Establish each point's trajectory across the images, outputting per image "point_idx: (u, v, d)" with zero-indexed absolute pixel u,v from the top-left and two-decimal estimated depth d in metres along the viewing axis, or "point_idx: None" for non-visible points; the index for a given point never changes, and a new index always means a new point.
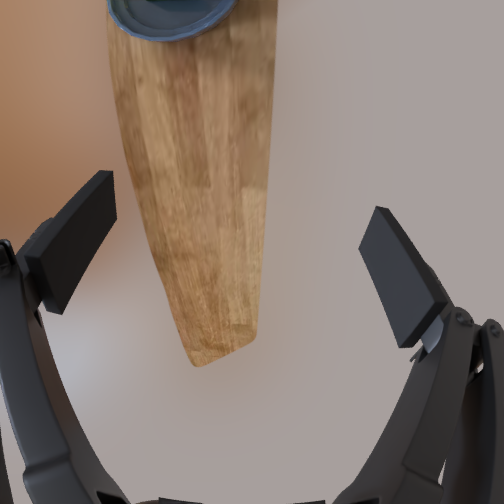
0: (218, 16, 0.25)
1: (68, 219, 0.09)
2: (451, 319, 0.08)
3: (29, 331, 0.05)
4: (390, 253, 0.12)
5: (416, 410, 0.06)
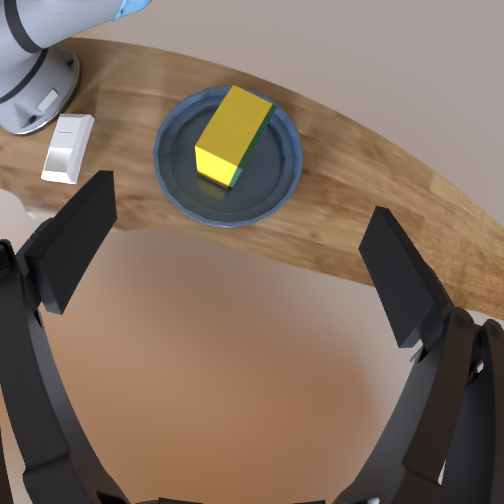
0: (292, 125, 0.32)
1: (68, 219, 0.09)
2: (451, 319, 0.08)
3: (29, 331, 0.05)
4: (390, 253, 0.12)
5: (416, 410, 0.06)
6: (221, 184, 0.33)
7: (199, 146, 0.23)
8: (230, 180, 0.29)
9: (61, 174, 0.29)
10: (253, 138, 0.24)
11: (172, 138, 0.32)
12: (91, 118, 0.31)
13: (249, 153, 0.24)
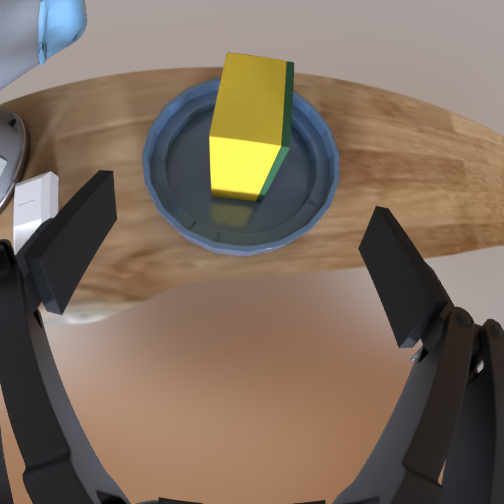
0: (303, 100, 0.25)
1: (68, 219, 0.09)
2: (451, 319, 0.08)
3: (29, 331, 0.05)
4: (390, 252, 0.12)
5: (416, 409, 0.06)
6: (247, 197, 0.25)
7: (215, 135, 0.15)
8: (264, 182, 0.21)
9: None
10: (284, 105, 0.16)
11: (163, 162, 0.24)
12: (54, 176, 0.24)
13: (289, 124, 0.16)
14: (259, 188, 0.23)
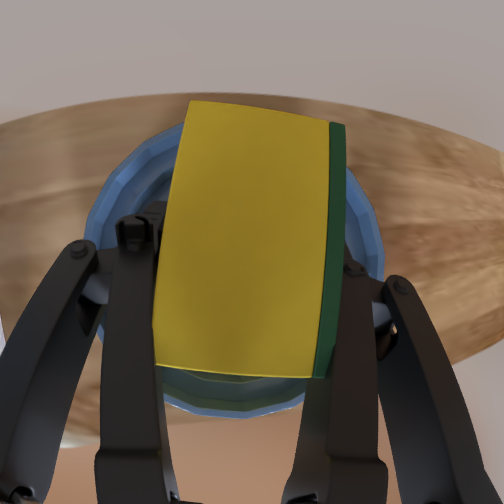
0: None
1: None
2: None
3: (152, 316, 0.07)
4: None
5: (325, 386, 0.06)
6: None
7: (164, 360, 0.06)
8: None
9: None
10: (327, 260, 0.07)
11: None
12: None
13: (334, 318, 0.07)
14: None
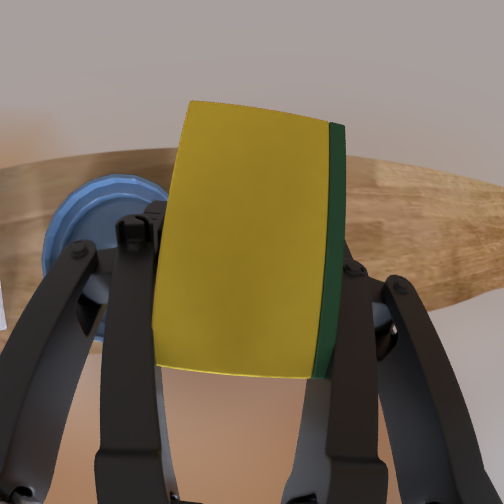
0: (166, 195, 0.27)
1: None
2: None
3: None
4: None
5: (325, 386, 0.06)
6: None
7: (163, 360, 0.06)
8: None
9: None
10: (327, 260, 0.07)
11: None
12: None
13: (334, 318, 0.07)
14: None
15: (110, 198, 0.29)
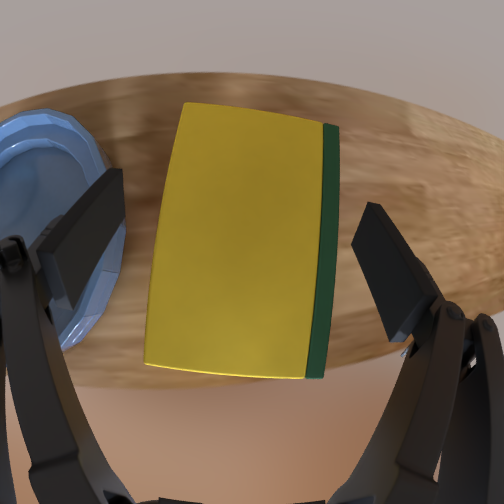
0: (80, 129, 0.14)
1: (80, 215, 0.09)
2: (441, 313, 0.08)
3: (40, 328, 0.06)
4: (381, 247, 0.12)
5: (408, 406, 0.06)
6: None
7: (157, 360, 0.06)
8: None
9: None
10: (320, 261, 0.07)
11: None
12: None
13: (327, 319, 0.07)
14: None
15: (21, 150, 0.16)
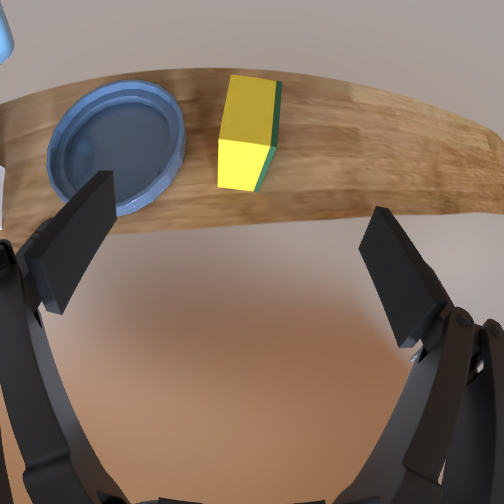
0: (164, 91, 0.29)
1: (68, 219, 0.09)
2: (451, 319, 0.08)
3: (29, 331, 0.05)
4: (390, 253, 0.12)
5: (416, 410, 0.06)
6: (247, 187, 0.31)
7: (223, 138, 0.21)
8: (259, 174, 0.27)
9: None
10: (273, 115, 0.22)
11: (63, 152, 0.28)
12: (1, 167, 0.28)
13: (276, 130, 0.22)
14: (256, 179, 0.29)
15: (115, 103, 0.31)
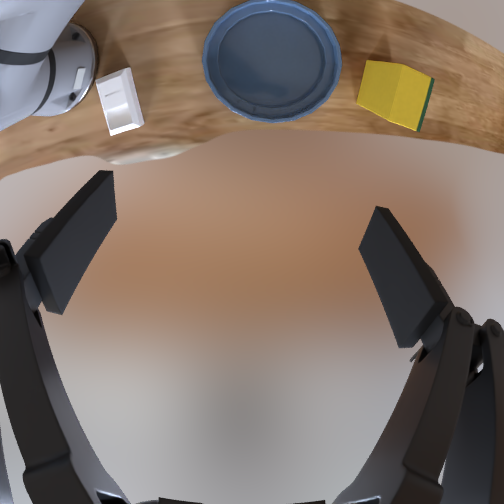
0: (322, 21, 0.26)
1: (68, 219, 0.09)
2: (451, 319, 0.08)
3: (29, 331, 0.05)
4: (390, 253, 0.12)
5: (416, 410, 0.06)
6: None
7: (391, 120, 0.27)
8: None
9: (129, 125, 0.35)
10: (423, 108, 0.26)
11: (216, 60, 0.31)
12: (128, 69, 0.31)
13: (422, 119, 0.26)
14: None
15: (263, 12, 0.27)
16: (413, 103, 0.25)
